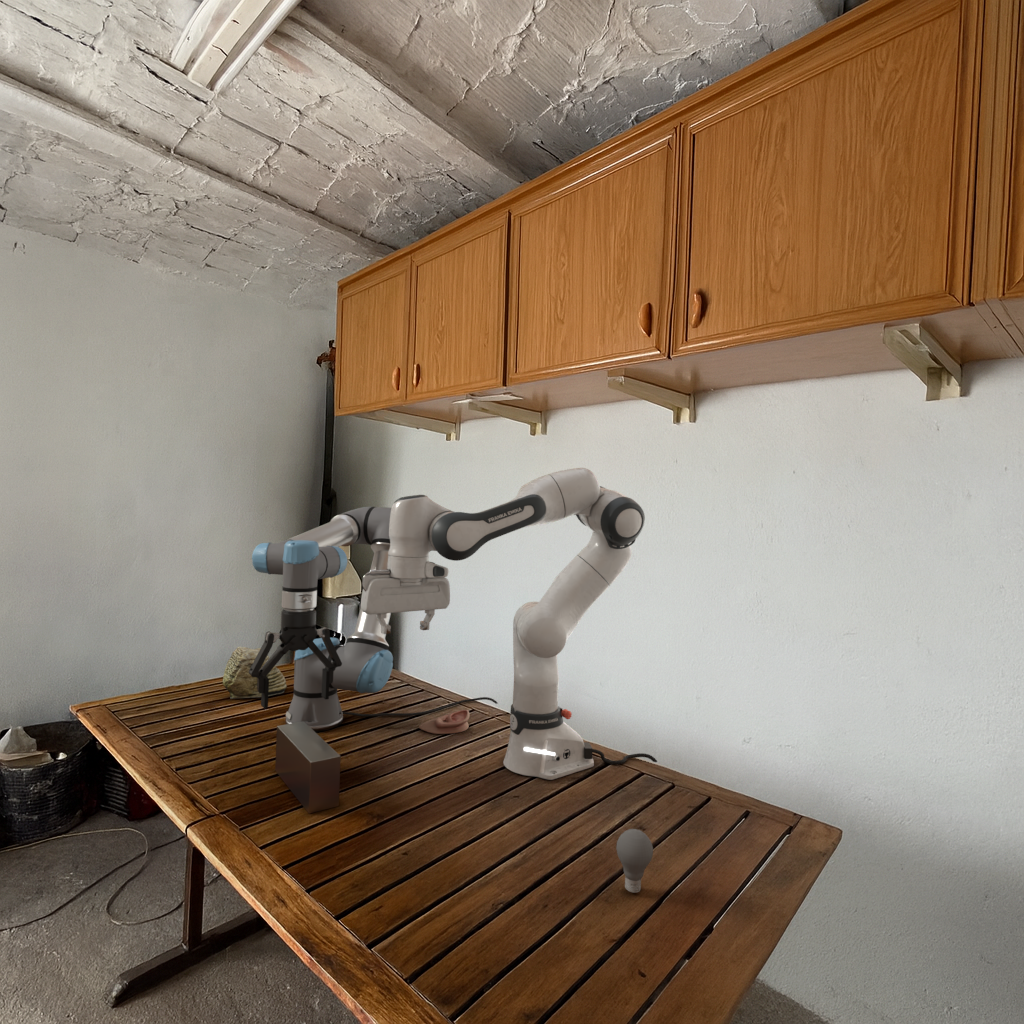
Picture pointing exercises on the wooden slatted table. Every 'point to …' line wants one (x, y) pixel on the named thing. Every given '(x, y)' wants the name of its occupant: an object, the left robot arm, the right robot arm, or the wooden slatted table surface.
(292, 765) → the box
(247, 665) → the fossil
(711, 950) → the wooden slatted table surface
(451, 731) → the anatomical model
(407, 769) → the wooden slatted table surface
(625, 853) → the light bulb
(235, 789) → the wooden slatted table surface
